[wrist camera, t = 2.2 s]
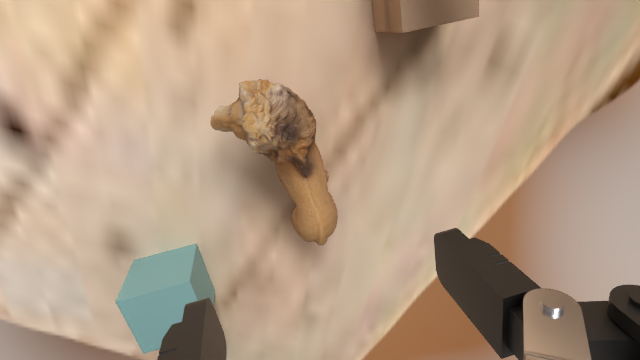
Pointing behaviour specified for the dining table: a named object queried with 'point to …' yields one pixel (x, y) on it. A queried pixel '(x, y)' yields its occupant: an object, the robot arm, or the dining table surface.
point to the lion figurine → (285, 150)
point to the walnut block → (420, 13)
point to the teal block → (162, 293)
